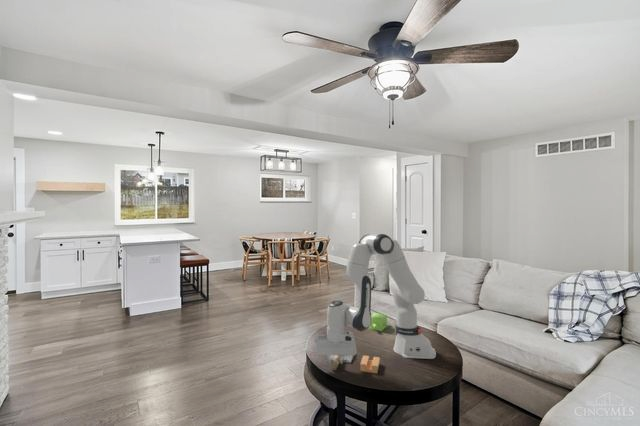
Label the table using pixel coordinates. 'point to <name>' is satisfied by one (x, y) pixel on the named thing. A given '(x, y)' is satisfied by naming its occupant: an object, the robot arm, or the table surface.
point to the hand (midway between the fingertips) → (335, 363)
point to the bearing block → (346, 359)
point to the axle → (336, 361)
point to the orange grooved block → (370, 364)
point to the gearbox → (378, 322)
